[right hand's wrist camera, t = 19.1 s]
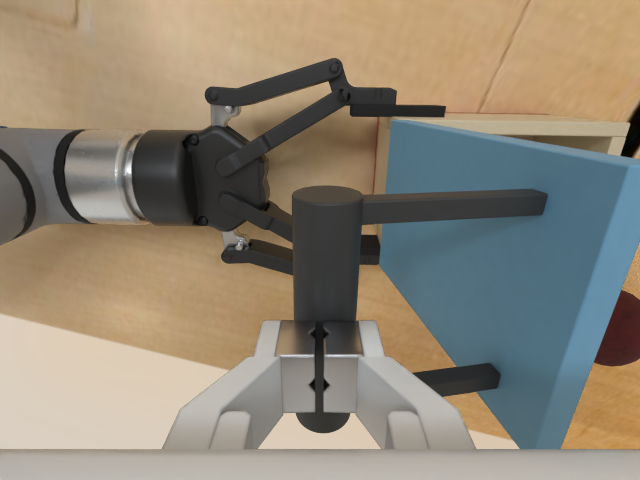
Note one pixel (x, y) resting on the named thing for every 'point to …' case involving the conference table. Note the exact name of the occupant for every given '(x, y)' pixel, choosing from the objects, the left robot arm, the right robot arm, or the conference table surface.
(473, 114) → the chest
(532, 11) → the conference table surface
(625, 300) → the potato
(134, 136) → the left robot arm
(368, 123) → the conference table surface
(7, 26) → the conference table surface
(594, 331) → the lid
